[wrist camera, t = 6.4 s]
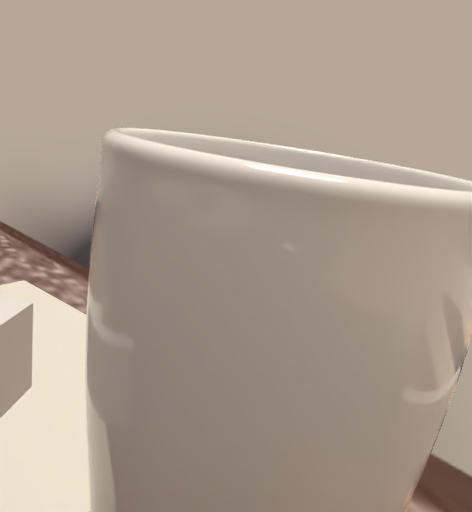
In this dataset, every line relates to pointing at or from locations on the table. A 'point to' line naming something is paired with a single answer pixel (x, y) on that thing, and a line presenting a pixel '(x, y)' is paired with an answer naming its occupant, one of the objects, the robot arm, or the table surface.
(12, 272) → the table surface
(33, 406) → the felt placemat
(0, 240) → the table surface
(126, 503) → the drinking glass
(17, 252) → the table surface
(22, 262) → the table surface
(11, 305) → the robot arm
